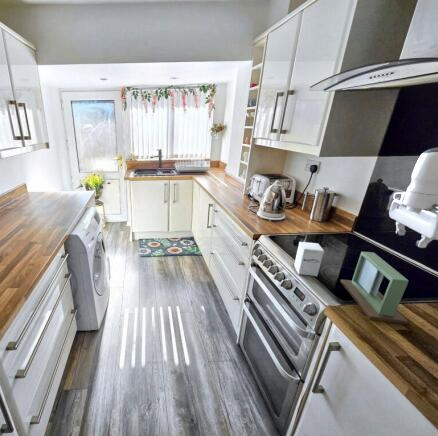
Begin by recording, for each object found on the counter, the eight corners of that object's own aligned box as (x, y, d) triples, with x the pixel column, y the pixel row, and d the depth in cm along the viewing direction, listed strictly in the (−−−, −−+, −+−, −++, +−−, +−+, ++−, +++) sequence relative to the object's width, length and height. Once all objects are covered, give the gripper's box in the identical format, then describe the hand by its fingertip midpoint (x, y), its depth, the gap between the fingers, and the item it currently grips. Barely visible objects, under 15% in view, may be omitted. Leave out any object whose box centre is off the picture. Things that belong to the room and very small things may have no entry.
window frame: (369, 284, 95) (381, 251, 90) (407, 324, 76) (425, 285, 71) (340, 281, 98) (349, 248, 92) (369, 319, 79) (384, 280, 74)
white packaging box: (298, 274, 103) (303, 248, 99) (293, 265, 110) (299, 241, 105) (317, 277, 101) (324, 250, 97) (312, 267, 108) (318, 242, 103)
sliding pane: (377, 284, 91) (386, 259, 87) (390, 297, 84) (401, 271, 80) (362, 282, 92) (370, 258, 88) (374, 295, 85) (384, 269, 81)
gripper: (468, 211, 64) (449, 256, 69) (412, 192, 83) (400, 229, 88) (438, 210, 66) (421, 254, 71) (390, 192, 84) (379, 228, 89)
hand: (409, 240), depth 79 cm, fingers open, 8 cm apart
